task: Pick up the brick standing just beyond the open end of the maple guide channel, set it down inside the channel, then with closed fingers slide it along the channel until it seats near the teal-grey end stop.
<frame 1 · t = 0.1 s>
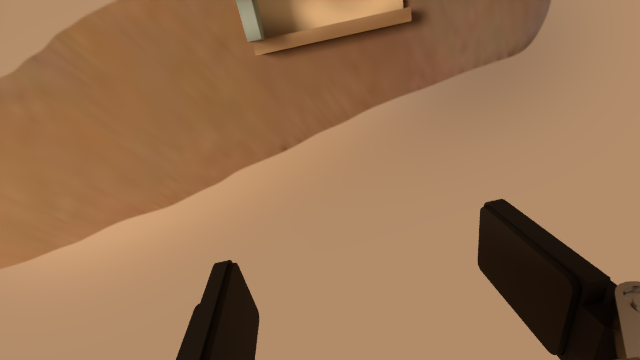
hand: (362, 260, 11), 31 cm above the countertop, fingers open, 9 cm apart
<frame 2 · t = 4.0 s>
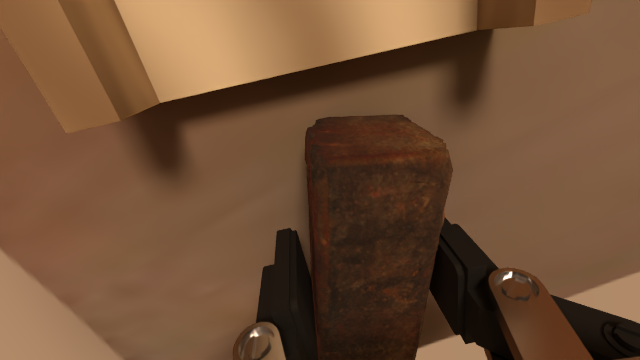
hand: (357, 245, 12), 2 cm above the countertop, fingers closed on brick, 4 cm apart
brick: (348, 223, 14), on the countertop, touching gripper
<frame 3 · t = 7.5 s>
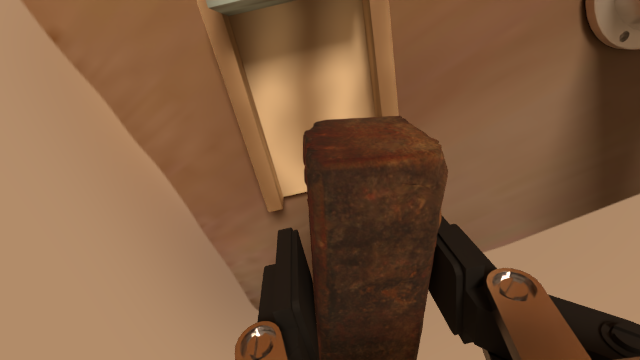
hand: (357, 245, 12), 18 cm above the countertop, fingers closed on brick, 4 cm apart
rail board: (313, 96, 27), on the countertop
brick: (349, 224, 14), point 16 cm above the countertop, touching gripper
when the fingers open (4 cm above the countertop, at t = 10.6 s): brick drops 1 cm, resting on rail board.
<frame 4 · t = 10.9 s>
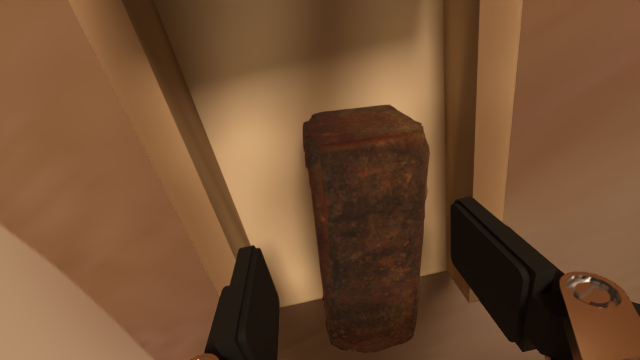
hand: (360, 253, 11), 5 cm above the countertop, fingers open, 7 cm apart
rail board: (330, 143, 14), on the countertop
brick: (349, 207, 15), point 1 cm above the countertop, touching rail board
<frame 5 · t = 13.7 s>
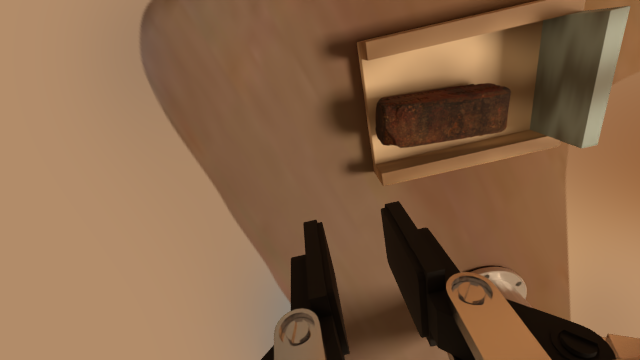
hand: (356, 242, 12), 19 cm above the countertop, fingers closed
rail board: (453, 93, 29), on the countertop
brick: (425, 108, 28), point 1 cm above the countertop, touching rail board
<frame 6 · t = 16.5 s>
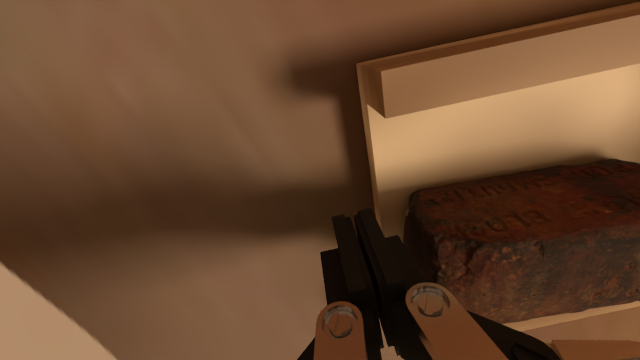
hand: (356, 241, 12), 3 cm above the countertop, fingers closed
rail board: (550, 165, 14), on the countertop
brick: (504, 203, 14), point 1 cm above the countertop, touching gripper, rail board
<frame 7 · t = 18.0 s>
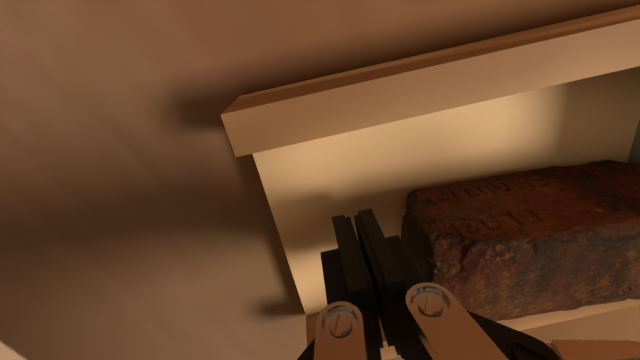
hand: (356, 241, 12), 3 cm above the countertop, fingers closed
rail board: (454, 187, 15), on the countertop
brick: (500, 203, 14), point 1 cm above the countertop, touching rail board
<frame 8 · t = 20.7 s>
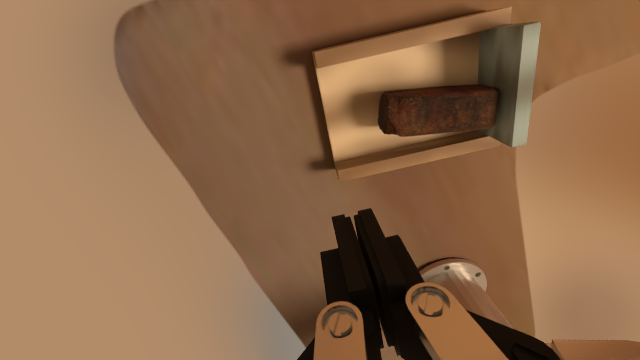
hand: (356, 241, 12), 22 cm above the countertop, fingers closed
rail board: (404, 97, 32), on the countertop
brick: (424, 104, 31), point 1 cm above the countertop, touching rail board
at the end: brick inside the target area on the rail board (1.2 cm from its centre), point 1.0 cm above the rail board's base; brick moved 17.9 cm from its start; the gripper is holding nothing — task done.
